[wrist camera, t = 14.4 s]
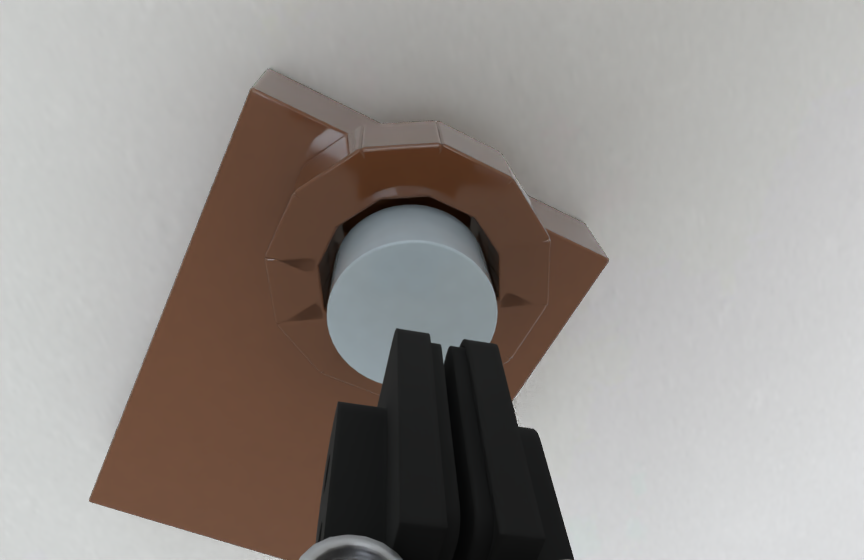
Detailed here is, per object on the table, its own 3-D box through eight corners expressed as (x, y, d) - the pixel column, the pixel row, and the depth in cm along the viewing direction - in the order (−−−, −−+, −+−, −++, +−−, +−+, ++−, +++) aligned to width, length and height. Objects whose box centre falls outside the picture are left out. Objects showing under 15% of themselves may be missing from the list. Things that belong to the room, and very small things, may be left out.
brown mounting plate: (285, 21, 17) (255, 49, 13) (610, 187, 20) (666, 253, 16) (116, 447, 23) (59, 555, 19) (383, 532, 26) (382, 644, 22)
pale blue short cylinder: (373, 177, 15) (371, 212, 13) (513, 243, 16) (529, 283, 14) (309, 306, 16) (299, 353, 15) (441, 359, 17) (447, 410, 15)
